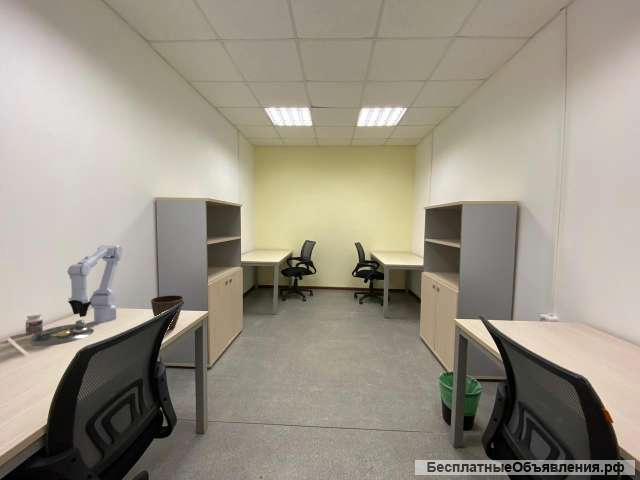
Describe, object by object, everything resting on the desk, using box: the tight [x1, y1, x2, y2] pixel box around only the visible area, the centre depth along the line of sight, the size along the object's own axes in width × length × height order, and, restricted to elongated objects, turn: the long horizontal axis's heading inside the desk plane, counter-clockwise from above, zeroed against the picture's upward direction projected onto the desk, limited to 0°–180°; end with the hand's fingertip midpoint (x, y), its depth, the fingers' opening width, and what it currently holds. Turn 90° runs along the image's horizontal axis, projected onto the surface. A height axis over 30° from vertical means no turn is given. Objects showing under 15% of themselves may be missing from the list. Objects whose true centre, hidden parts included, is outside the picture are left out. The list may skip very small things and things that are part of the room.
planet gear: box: [73, 319, 89, 334], centre depth 134 cm, size 6×6×6 cm
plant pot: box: [150, 294, 184, 331], centre depth 144 cm, size 15×15×16 cm
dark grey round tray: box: [30, 323, 95, 347], centre depth 129 cm, size 22×22×3 cm
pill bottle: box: [25, 312, 44, 336], centre depth 133 cm, size 6×6×10 cm
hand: (79, 315), depth 134 cm, fingers open, 7 cm apart
